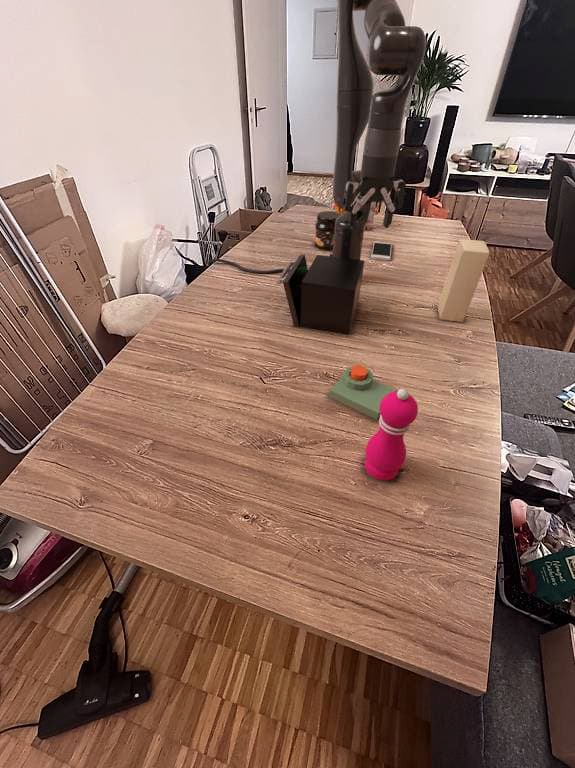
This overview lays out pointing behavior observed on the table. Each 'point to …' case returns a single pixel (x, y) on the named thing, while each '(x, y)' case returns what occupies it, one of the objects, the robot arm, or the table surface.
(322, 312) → the oven
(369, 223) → the doll family
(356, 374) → the button
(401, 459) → the pepper mill
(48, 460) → the table surface
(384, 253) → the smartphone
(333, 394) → the switch block
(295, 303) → the oven door
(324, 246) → the supplement container
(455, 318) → the tall wooden block
